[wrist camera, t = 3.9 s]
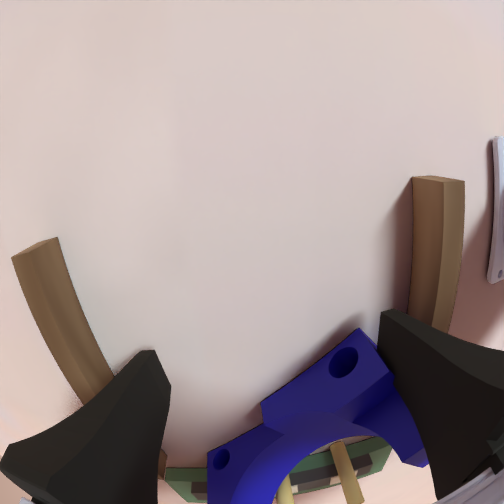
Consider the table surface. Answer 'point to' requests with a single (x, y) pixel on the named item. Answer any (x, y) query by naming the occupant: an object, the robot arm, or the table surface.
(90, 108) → the table surface
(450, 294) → the guide rails
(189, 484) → the header board
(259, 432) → the cable clip
